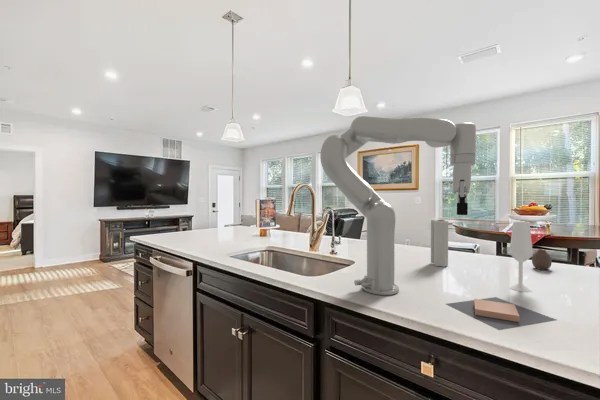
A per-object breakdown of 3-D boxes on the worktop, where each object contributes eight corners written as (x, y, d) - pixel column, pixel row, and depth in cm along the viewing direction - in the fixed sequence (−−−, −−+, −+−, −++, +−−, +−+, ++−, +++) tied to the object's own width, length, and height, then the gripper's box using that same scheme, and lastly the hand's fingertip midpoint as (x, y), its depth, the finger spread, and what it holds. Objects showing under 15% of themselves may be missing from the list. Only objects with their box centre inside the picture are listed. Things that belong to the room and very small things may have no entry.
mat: (499, 331, 74) (499, 329, 74) (445, 305, 91) (445, 303, 91) (557, 321, 80) (557, 319, 80) (496, 298, 97) (496, 297, 97)
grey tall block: (450, 266, 138) (450, 220, 137) (437, 267, 138) (437, 220, 137) (443, 263, 145) (443, 219, 144) (430, 263, 145) (430, 219, 145)
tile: (474, 304, 91) (475, 315, 83) (474, 298, 90) (475, 308, 83) (514, 311, 86) (519, 323, 78) (514, 304, 86) (519, 316, 78)
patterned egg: (550, 268, 135) (550, 248, 134) (552, 271, 129) (553, 251, 129) (530, 266, 138) (531, 247, 138) (532, 269, 133) (533, 249, 132)
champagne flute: (536, 292, 103) (537, 223, 102) (515, 291, 104) (516, 222, 103) (525, 286, 109) (526, 221, 109) (505, 285, 110) (506, 220, 110)
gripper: (451, 163, 109) (450, 213, 109) (449, 159, 96) (448, 216, 96) (474, 161, 105) (474, 213, 106) (476, 157, 92) (475, 216, 93)
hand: (462, 214), depth 101 cm, fingers closed
